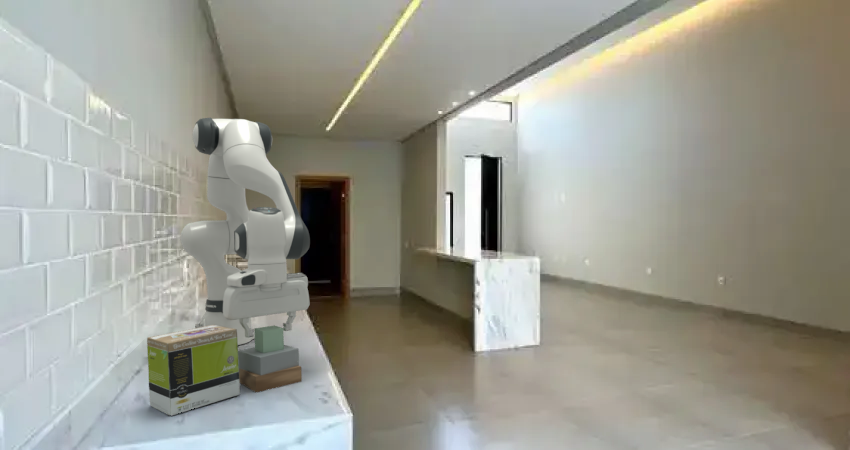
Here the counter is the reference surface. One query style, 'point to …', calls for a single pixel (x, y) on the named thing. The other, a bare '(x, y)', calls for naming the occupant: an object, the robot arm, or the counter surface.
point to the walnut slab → (270, 378)
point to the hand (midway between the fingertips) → (268, 333)
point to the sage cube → (269, 339)
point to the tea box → (192, 368)
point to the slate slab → (268, 360)
